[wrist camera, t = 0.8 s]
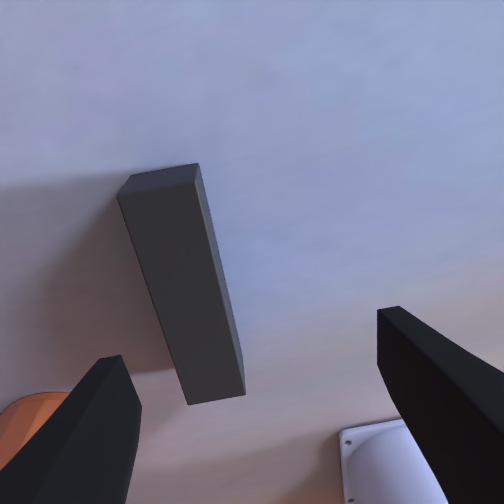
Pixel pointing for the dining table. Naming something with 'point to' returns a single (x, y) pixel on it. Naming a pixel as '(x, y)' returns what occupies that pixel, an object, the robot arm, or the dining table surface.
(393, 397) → the robot arm
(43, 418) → the cup
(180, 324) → the black bar
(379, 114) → the dining table surface
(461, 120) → the dining table surface
